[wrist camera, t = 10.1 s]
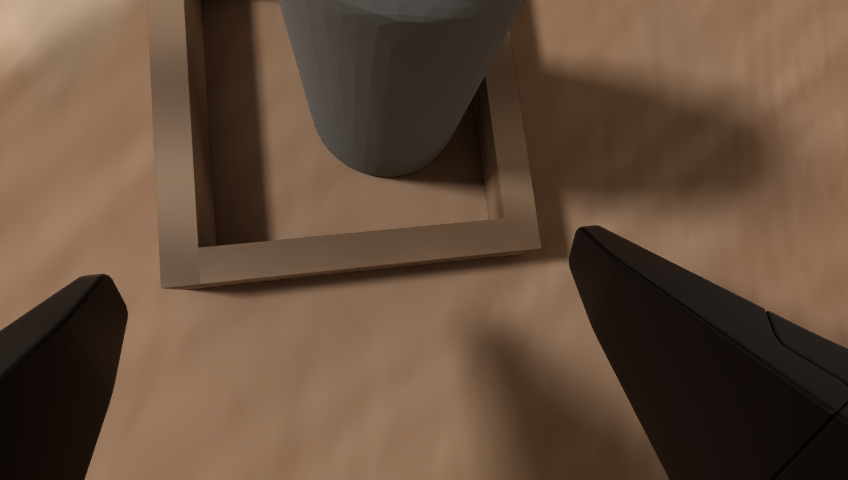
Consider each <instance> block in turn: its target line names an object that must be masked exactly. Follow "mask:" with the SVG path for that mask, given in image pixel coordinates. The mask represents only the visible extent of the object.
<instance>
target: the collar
mask: <svg viewBox="0 0 848 480" xmlns="http://www.w3.org/2000/svg"><path fill="white" fill-rule="evenodd" d="M147 7H148V28H149V49H150V69H151V90H152V111H153V131H154V152H155V172H156V193H157V214H158V234H159V255H160V276H161V288H166V289H180V290H187V289H197V288H206V287H215V286H225V285H234V284H244V283H253V282H262V281H272V280H281V279H291V278H300V277H309V276H319V275H328V274H338V273H347V272H357V271H366V270H375V269H385V268H394V267H404V266H413V265H422V264H432V263H441V262H451V261H460V260H469V259H479V258H488V257H498V256H507V255H516V254H524V253H527V252H530V251H534V250H537V249H540V248H541V242H540V235H539V229H538V222H537V215H536V208H535V201H534V194H533V187H532V180H531V173H530V167H529V160H528V153H527V146H526V139H525V132H524V125H523V118H522V111H521V105H520V98H519V91H518V84H517V77H516V70H515V63H514V56H513V49H512V43H511V36H510V29H509V31H508V33H507V35H506V37H505V39H504V41H503V43H502V44H501V46H500V48H499V50H498V52H497V54H496V56H495V58H494V60H493V61H492V63H491V65H490V67H489V69H488V71H487V73H486V74H485V76H484V78H483V80H482V82H481V84H480V86H479V87H478V89H477V91H476V93H475V95H474V97H473V102H474V109H475V117H476V124H477V132H478V140H479V147H480V155H481V162H482V170H483V177H484V185H485V192H486V200H487V207H488V215H489V220H485V221H474V222H464V223H453V224H443V225H432V226H422V227H411V228H400V229H390V230H379V231H369V232H358V233H348V234H337V235H327V236H316V237H305V238H295V239H284V240H274V241H263V242H253V243H242V244H231V245H221V246H216V230H215V214H214V198H213V182H212V166H211V151H210V135H209V119H208V103H207V87H206V71H205V55H204V39H203V23H202V8H201V0H147Z"/></svg>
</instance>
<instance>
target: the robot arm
mask: <svg viewBox="0 0 848 480" xmlns="http://www.w3.org/2000/svg"><path fill="white" fill-rule="evenodd" d="M569 266H570V270H571V273H572V275H573V278H574V281H575V284H576V286H577V289H578V292H579V294H580V297H581V300H582V302H583V305H584V308H585V310H586V313H587V316H588V318H589V321H590V323H591V326H592V328H593V330H594V332H595V335H596V337H597V339H598V341H599V343H600V345H601V347H602V349H603V351H604V352H605V354H606V356H607V358H608V360H609V362H610V364H611V366H612V368H613V370H614V372H615V374H616V376H617V378H618V380H619V382H620V384H621V386H622V388H623V390H624V392H625V394H626V396H627V397H628V399H629V401H630V403H631V405H632V407H633V409H634V411H635V413H636V415H637V417H638V419H639V421H640V423H641V425H642V427H643V429H644V431H645V433H646V435H647V437H648V439H649V441H650V443H651V444H652V446H653V448H654V450H655V452H656V454H657V456H658V458H659V460H660V462H661V464H662V466H663V468H664V470H665V472H666V474H667V476H668V478H669V480H848V349H847V348H845V347H843V346H840V345H838V344H836V343H834V342H832V341H829V340H827V339H825V338H823V337H821V336H819V335H817V334H814V333H812V332H810V331H808V330H806V329H804V328H802V327H800V326H798V325H796V324H794V323H792V322H790V321H788V320H786V319H784V318H782V317H780V316H778V315H776V314H774V313H772V312H770V311H767V312H766V311H765V309H764V308H762V307H760V306H758V305H756V304H754V303H752V302H750V301H748V300H746V299H744V298H742V297H740V296H738V295H736V294H734V293H732V292H730V291H728V290H726V289H724V288H722V287H720V286H718V285H716V284H714V283H712V282H710V281H708V280H706V279H704V278H702V277H700V276H698V275H696V274H694V273H692V272H690V271H688V270H686V269H684V268H682V267H680V266H678V265H676V264H674V263H672V262H670V261H668V260H666V259H664V258H662V257H660V256H658V255H656V254H654V253H652V252H650V251H648V250H646V249H644V248H642V247H640V246H638V245H636V244H634V243H632V242H630V241H628V240H626V239H624V238H622V237H620V236H618V235H616V234H614V233H612V232H610V231H608V230H606V229H604V228H602V227H600V226H597V225H594V226H584V227H580V228H578V229H577V231H576V233H575V237H574V240H573V244H572V248H571V252H570V256H569ZM127 319H128V311H127V307H126V304H125V302H124V301H123V299H122V297H121V295H120V293H119V291H118V289H117V287H116V285H115V284H114V282H113V280H112V279H111V277H110V276H108V275H106V274H97V275H86V276H81V277H79V278H77V279H76V280H75V281H73V282H72V283H70V284H69V285H67V286H66V287H64V288H63V289H61V290H60V291H58V292H57V293H55V294H54V295H52V296H51V297H49V298H48V299H46V300H45V301H44V302H42V303H41V304H39V305H38V306H36V307H35V308H33V309H32V310H30V311H29V312H27V313H26V314H24V315H23V316H21V317H20V318H18V319H17V320H15V321H14V322H13V323H11V324H10V325H8V326H7V327H5V328H4V329H2V330H1V331H0V480H84V479H85V476H86V473H87V470H88V467H89V464H90V461H91V458H92V455H93V452H94V449H95V446H96V443H97V440H98V437H99V434H100V431H101V428H102V425H103V422H104V419H105V415H106V412H107V409H108V406H109V403H110V400H111V396H112V393H113V389H114V385H115V380H116V375H117V370H118V365H119V360H120V355H121V350H122V345H123V339H124V334H125V329H126V324H127Z"/></svg>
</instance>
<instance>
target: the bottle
mask: <svg viewBox="0 0 848 480" xmlns="http://www.w3.org/2000/svg"><path fill="white" fill-rule="evenodd" d="M524 1H525V0H279V3H280V6H281V10H282V13H283V17H284V20H285V24H286V27H287V31H288V34H289V38H290V41H291V45H292V48H293V52H294V55H295V59H296V62H297V66H298V69H299V73H300V76H301V80H302V84H303V87H304V91H305V94H306V98H307V101H308V105H309V108H310V111H311V115H312V118H313V121H314V124H315V127H316V129H317V131H318V134H319V135H320V137H321V139H322V141H323V142H324V144H325V145H326V147H327V148H328V149H329V150H330V152H331V153H332V154H333V155H334V156H335V157H336V158H338V159H339V160H340V161H342V162H343V163H344V164H346V165H347V166H349V167H351V168H352V169H354V170H357V171H359V172H362V173H365V174H369V175H373V176H381V177H395V176H400V175H405V174H409V173H412V172H414V171H416V170H419V169H421V168H423V167H424V166H426V165H428V164H429V163H430V162H431V161H433V160H434V159H435V158H436V157H437V156H438V155H439V154H440V153H441V152H442V151H443V149H444V148H445V147H446V145H447V143H448V142H449V140H450V139H451V137H452V135H453V134H454V132H455V130H456V128H457V126H458V124H459V123H460V121H461V119H462V117H463V115H464V113H465V111H466V110H467V108H468V106H469V104H470V102H471V100H472V98H473V97H474V95H475V93H476V91H477V89H478V87H479V86H480V84H481V82H482V80H483V78H484V76H485V74H486V73H487V71H488V69H489V67H490V65H491V63H492V61H493V60H494V58H495V56H496V54H497V52H498V50H499V48H500V46H501V44H502V43H503V41H504V39H505V37H506V35H507V33H508V31H509V29H510V27H511V25H512V24H513V22H514V20H515V18H516V16H517V14H518V12H519V10H520V8H521V6H522V5H523V3H524Z"/></svg>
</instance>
